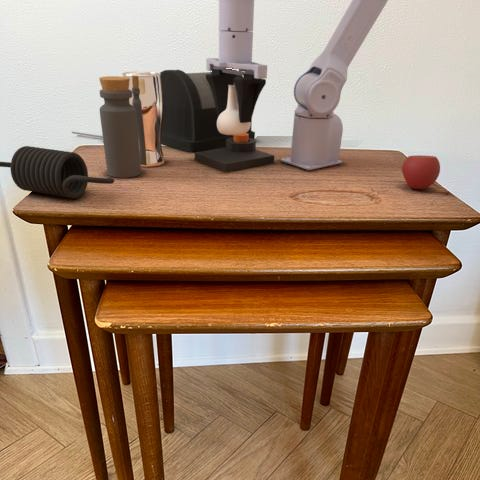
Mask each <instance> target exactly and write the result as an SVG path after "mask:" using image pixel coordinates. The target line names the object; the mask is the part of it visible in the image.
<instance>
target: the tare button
mask: <svg viewBox="0 0 480 480" xmlns="http://www.w3.org/2000/svg"><path fill="white" fill-rule="evenodd" d="M248 138H249V134H247V133H244V134H240V135H234V140H233V141H234V142H248Z"/></svg>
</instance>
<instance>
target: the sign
mask: <svg viewBox="0 0 480 480" xmlns="http://www.w3.org/2000/svg"><path fill="white" fill-rule="evenodd" d="M71 134H75V135H81V136H87V137H95V138H101V139H103V135H98V134H92V133H85V132H79V131H71Z"/></svg>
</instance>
